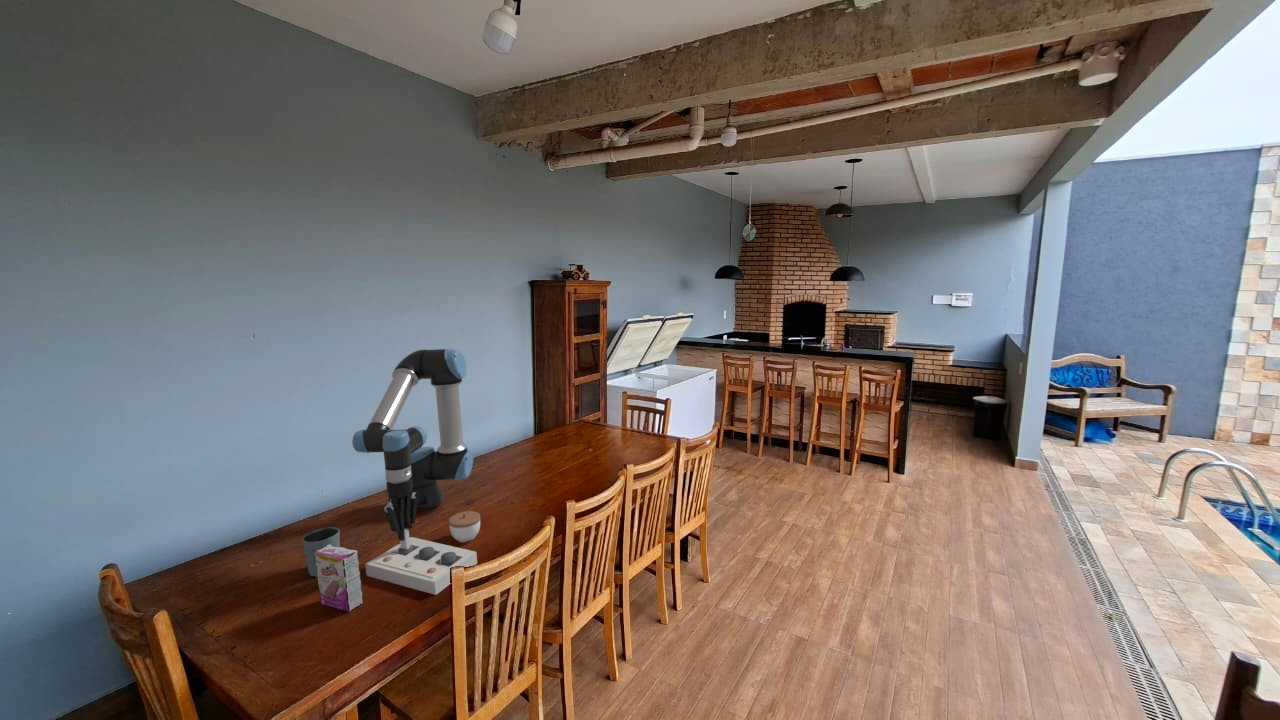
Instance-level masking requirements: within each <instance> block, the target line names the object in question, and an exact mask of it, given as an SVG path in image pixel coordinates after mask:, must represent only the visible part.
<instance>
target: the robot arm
mask: <svg viewBox="0 0 1280 720" xmlns="http://www.w3.org/2000/svg"><path fill="white" fill-rule="evenodd" d="M467 368H468V367H467V361H466V359H465V356H464V354H463V353H462V352H461V351H460V350H458V349H451V348H450V349H449V348H440V349H438V348H437V349H419V350H416V351H413V352H411V353H410V354H408V355H407V356H405V357H404V358H403V359H402V360H401V361H400V362H399V363H398V364H397V365H396V367H395V368H394V369H393V372H392V374H391V377H392V380H391V381H390V384H389V385H388V388H387V389H386V391H385V392H384V395H383V397H382V398H381V401H380V403H379V404H378V406H377V409H376V410H375V412H374V413H373V416H372V417H371V419H370V421H369V423H368V425H367V426H366V429H361V430H360V429H359V430H357V431H356V432H355V433H353V436H352V441H351V443H352V448H353V449H354V451H356V452H357V453H365V454H370V453H383V458H384V460H383V461H384V470H385V481H386V491H387V494H388V499H387V501H388V503H387V504H386V505H385V506H384V505H383V506H382V508H381V509H382V511H383V512H384V513H385V516H386V518H387V521H388V524H389V527H390V530H391V531H392V532H396V533H397V539H398V541H399V544H400V548H402V549H406V550H407V549H409V548H410V537H411V535H412V534H411V529H412V528H413V527H414V526H413V524H415V523H416V517H417V512H420V511H421V512H422V511H426V510H431V509H433V508H436V507H439V506H440V505H441V504H442V503H443V500H444V499H443V496H444V495H443V493H442V492H441V489H440V487H439V483H438V481H458V480H465V479H467V478H468V477H469V476H470V475H471V471H472V468H473V464H474V453H473V451H472V450H470V449H469V450H468V445H467V443H465V442H464V440H463V439H464V438H463V428H462V427H463V426H462V414H461V403H460V402H461V401H460V391H459V390H460V389H459V386H460V385H461V384H462V383H463V379H464V378H466V375H467ZM420 380H430V384H431V386H433V387H434V388H435V395H436V397H435V398H436V408H437V418H438V427H439V428H438V429H439V432H438V433H439V440H440V441H439V442H440V445H439V446H438V447H437V449H435V448H434V446H424V445H425V444H426V442H427V440H428V435H427V432H426V430H425V429H424V428H423V427H420V426H416V425H415V426H411V427H408V428H406V429H394V426H395V424H396V422H397V421H398V418H399V416H400V414H401V412H402V409H403V407H404V406H405V404H406V402H407V399H408V397H409V395H410V393H411V391H412V389H413V387H415V386H417V385H418V383H419V381H420Z"/></svg>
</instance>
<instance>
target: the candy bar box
mask: <svg viewBox="0 0 1280 720" xmlns="http://www.w3.org/2000/svg"><path fill="white" fill-rule="evenodd" d="M358 551H359V550H356V549H351V548H345V547H343V546H340V547H338V546H334V545H327V546H325V547H323V548H322V549H320V550H318V551H316V552H315V553H314V554H315V562H316V570H317V577H316V578H317V583H318V584H317V585H318V592H319V600H320V605H321V606H325V607H328V608H331V607H333V608H332V609H335V608H337V610H339V609H340V611H343V610H344V611H343V612H346V611H348V612H347V613H351V612H352V611H351V610H352V609H354V608H355V607H357V606H358V607H359V606H361V605H362V604H363V603H364V599H363V598H364V597H363V590H362V589H363V587H362V580H361V579H362V578H361V569H360V562H359V561H360V560H359V552H358ZM360 604H361V605H360ZM358 607H357V608H358ZM355 609H356V608H355ZM355 609H354V610H355ZM350 611H351V612H350Z"/></svg>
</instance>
